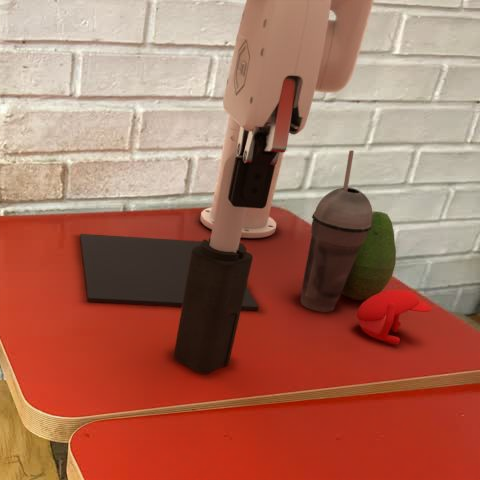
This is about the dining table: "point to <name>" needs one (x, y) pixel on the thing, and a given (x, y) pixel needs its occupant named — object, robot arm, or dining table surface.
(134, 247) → the mat
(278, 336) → the dining table surface
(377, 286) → the fruit
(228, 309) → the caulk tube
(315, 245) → the beverage cup
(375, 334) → the red animal figurine
